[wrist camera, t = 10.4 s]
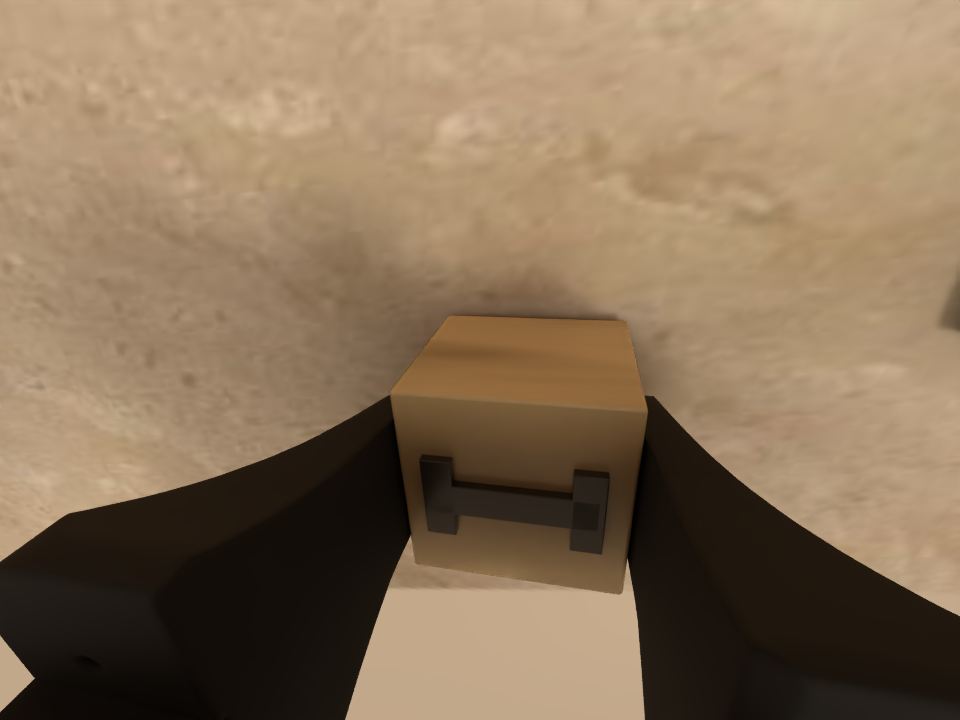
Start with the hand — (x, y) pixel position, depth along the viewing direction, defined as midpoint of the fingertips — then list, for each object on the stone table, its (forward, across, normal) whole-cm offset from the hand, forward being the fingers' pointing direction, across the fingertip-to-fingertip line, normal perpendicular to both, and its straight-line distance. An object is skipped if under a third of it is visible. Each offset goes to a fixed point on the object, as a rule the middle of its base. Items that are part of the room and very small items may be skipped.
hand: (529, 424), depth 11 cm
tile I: (+1, 0, 0) cm, 1 cm away
